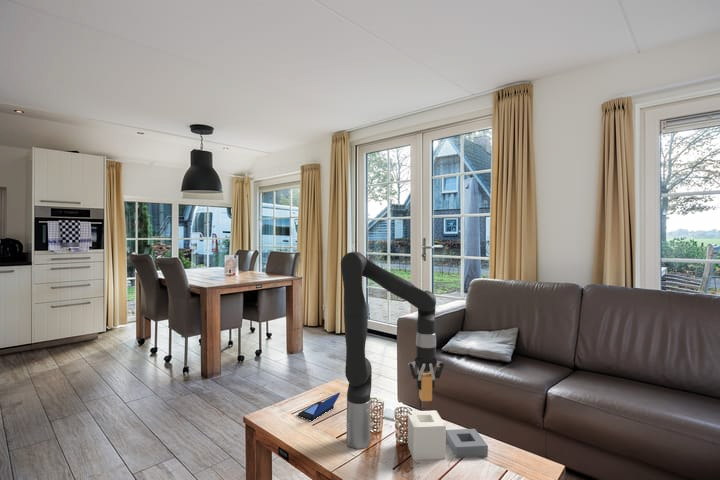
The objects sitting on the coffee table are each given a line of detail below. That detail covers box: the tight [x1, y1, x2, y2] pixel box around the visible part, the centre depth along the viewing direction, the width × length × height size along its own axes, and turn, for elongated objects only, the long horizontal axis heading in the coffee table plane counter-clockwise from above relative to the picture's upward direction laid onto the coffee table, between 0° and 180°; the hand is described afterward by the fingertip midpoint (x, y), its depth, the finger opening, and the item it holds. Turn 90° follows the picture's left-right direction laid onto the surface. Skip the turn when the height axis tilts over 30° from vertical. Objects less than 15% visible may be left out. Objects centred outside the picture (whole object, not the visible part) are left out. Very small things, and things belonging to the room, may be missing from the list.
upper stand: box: [406, 409, 447, 461], centre depth 139 cm, size 12×12×12 cm
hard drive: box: [383, 407, 395, 422], centre depth 167 cm, size 2×8×12 cm
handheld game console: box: [297, 392, 341, 422], centre depth 167 cm, size 16×13×9 cm
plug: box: [418, 372, 433, 402], centre depth 138 cm, size 4×4×9 cm
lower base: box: [446, 428, 489, 459], centre depth 140 cm, size 12×12×4 cm
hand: (425, 388), depth 138 cm, fingers closed on plug, 4 cm apart
